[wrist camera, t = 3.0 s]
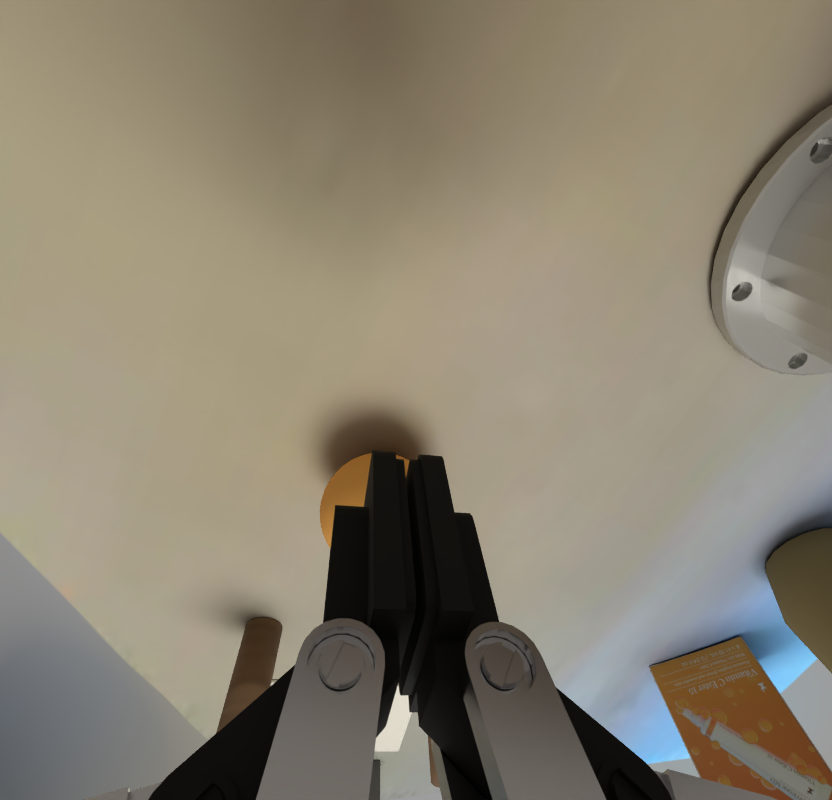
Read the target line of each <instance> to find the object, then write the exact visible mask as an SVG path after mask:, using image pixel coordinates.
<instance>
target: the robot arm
mask: <svg viewBox="0 0 832 800" xmlns="http://www.w3.org/2000/svg"><path fill="white" fill-rule="evenodd" d="M711 298H712V310H713V313H714V316H715V319H716V322H717V326H718V328H719V330H720V331H721V333H722V334H723V336H724V337H725V339H726V341H727V342H728V344H730V345H731V346H732V347H733V348H734V349H736V350H737V351H738V352H739V353H740V354H741V355H743V356H744V357H746V358H748V359H749V360H751V361H752V362H754V363H756V364H757V365H759V366H761V367H762V368H766V369H769V370H772V371H775V372H778V373H782V374H793V375H813V374H824V373H830V372H832V104H831V105H830V106H828V107H827V108H825V109H824V110H822V111H821V112H819V113H818V114H817V115H816V116H815V117H813V118H812V119H811V120H810V121H809V122H808V123H807V124H805V125H804V126H803V127H802V128H801V129H800V130H799V131H797V132H796V133H795V134H794V135H793V136H792V137H791V138H789V139H788V140H787V141H786V142H785V143H784V145H783V146H782V147H781V148H780V149H779V150H778V151H777V152H776V154H775V155H774V156H773V157H772V158H771V159H770V160H769V161H768V162H767V164H766V165H765V166H764V167H763V168H762V169H761V170H760V172H759V173H758V175H757V176H756V178H755V179H754V180H753V182H752V183H751V185H750V186H749V188H748V189H747V191H746V192H745V194H744V195H743V196H742V198H741V199H740V201H739V203H738V205H737V207H736V209H735V211H734V213H733V214H732V216H731V218H730V220H729V222H728V224H727V226H726V228H725V230H724V233H723V236H722V239H721V242H720V245H719V248H718V251H717V254H716V257H715V260H714V267H713V274H712V280H711ZM398 682H399V692H400V695H408V699H409V712H418V718H419V726H420V727H421V728H422V729H423V730H424V732H425V733H426V734H427V735H428V736H429V737H430V738H431V747H432V753H433V758H434V763H435V767H436V772H437V776H438V781H439V786H440V790H441V795H442V799H443V800H777V799H774V798H772V797H770V796H766V795H762V794H759V793H755V792H751V791H747V790H744V789H740V788H736V787H732V786H729V785H725V784H721V783H717V782H714V781H710V780H706V779H702V778H698V777H694V776H691V775H687V774H684V773H680V772H676V771H672V770H669V769H667V770H666V771H665V772H664V773H660V772H657V771H653V770H652V769H651V768H650V767H649V766H648V765H647V764H646V763H645V762H644V761H643V760H642V759H641V758H639V757H638V756H637V755H636V754H635V753H634V752H632V751H631V750H630V749H629V748H628V747H626V746H625V745H624V744H623V743H622V742H620V741H619V740H618V739H617V738H616V737H614V736H613V735H612V734H611V733H610V732H608V731H607V730H606V729H605V728H604V727H603V726H601V725H600V724H599V723H598V722H597V721H595V720H594V719H593V718H592V717H591V716H589V715H588V714H587V713H586V712H585V711H583V710H582V709H581V708H580V707H579V706H577V705H576V704H575V703H574V702H573V701H572V700H570V699H569V698H568V697H567V696H566V695H564V694H563V693H562V692H561V691H560V690H558V689H557V688H556V687H555V685H554V683H553V680H552V678H551V676H550V674H549V672H548V669H547V667H546V665H545V663H544V660H543V658H542V656H541V654H540V652H539V651H538V649H537V647H536V646H535V644H534V643H533V642H532V641H531V640H530V638H529V637H528V636H527V635H526V634H525V633H523V632H522V631H520V630H519V629H517V628H515V627H514V626H512V625H509V624H506V623H503V622H499V619H498V615H497V611H496V607H495V603H494V599H493V595H492V591H491V587H490V583H489V579H488V575H487V571H486V567H485V563H484V559H483V555H482V551H481V547H480V543H479V539H478V535H477V531H476V527H475V523H474V520H473V517H472V516H471V514H470V513H455V512H454V508H453V504H452V499H451V494H450V489H449V484H448V479H447V475H446V470H445V465H444V460H443V457H442V456H431V455H419V456H418V459H417V460H410V461H409V465H408V470H407V475H405V464H404V459H396V453H395V452H383V451H372V455H371V462H370V468H369V475H368V481H367V488H366V495H365V501H364V507H359V506H344V505H335V511H334V520H333V530H332V540H331V550H330V560H329V570H328V580H327V590H326V600H325V610H324V620H323V624H321V625H319V626H318V627H316V628H315V629H314V630H313V631H312V632H311V633H310V634H309V635H308V636H307V637H306V639H305V640H304V642H303V645H302V647H301V649H300V651H299V654H298V658H297V661H296V664H295V665H294V666H293V667H292V668H291V669H290V670H289V671H288V672H286V673H285V674H284V675H283V676H282V677H281V678H280V679H278V680H277V681H276V682H275V683H274V684H273V685H272V686H270V687H269V688H268V689H267V690H266V691H265V692H263V693H262V694H261V695H260V696H259V697H258V698H257V699H255V700H254V701H253V702H252V703H251V704H250V705H249V706H247V707H246V708H245V709H244V710H243V711H242V712H241V713H239V714H238V715H237V716H236V717H235V718H234V719H233V720H231V721H230V722H229V723H228V724H227V725H226V726H225V727H223V728H222V729H221V730H220V731H219V732H218V733H216V734H215V735H214V736H213V737H212V738H211V739H210V740H208V741H207V742H206V743H205V744H204V745H203V746H202V747H200V748H199V749H198V750H197V751H196V752H195V753H194V754H192V755H191V756H190V757H189V758H188V759H187V760H186V761H185V762H183V763H182V764H181V765H180V766H179V767H178V768H176V769H175V770H174V771H173V772H172V773H171V774H170V775H168V776H167V777H166V779H165V780H164V781H163V782H161V783H157V784H154V785H151V786H147V787H144V788H140V789H137V790H134V791H130V789H129V787H126V788H123V789H119V790H116V791H112V792H109V793H105V794H102V795H99V796H95V797H92V798H88V799H85V800H368V799H369V791H370V783H371V775H372V766H373V758H374V750H375V742H376V738H377V736H378V735H379V734H380V733H381V732H382V730H383V729H384V728H385V727H386V724H387V721H388V717H389V714H390V710H391V707H392V703H393V700H394V696H395V693H396V689H397V686H398Z"/></svg>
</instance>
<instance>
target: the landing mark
mask: <svg viewBox="0 0 832 800" xmlns="http://www.w3.org/2000/svg"><path fill="white" fill-rule="evenodd" d="M276 681H277V680H272V682H271V686H272V685H273V684H274V683H275V682H276ZM411 713H412V712H409V699H408V695H400V692H399V683H398V686H397V689H396V693H395V696H394V700H393V703H392V707H391V710H390V714H389V717H388V721H387V724H386V727H385V728H384V729H383V730H382V732H381V733H380V734H379V735H378V736H377V738H376V742H375V750H374V751H399V748H400V745H401V742H402V739H403V737H404V734H405V731H406V728H407V725H408V722H409V719H410V716H411Z"/></svg>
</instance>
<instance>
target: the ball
mask: <svg viewBox="0 0 832 800" xmlns="http://www.w3.org/2000/svg"><path fill="white" fill-rule="evenodd" d="M371 455H372V453H369V454H365V455H362V456H359V457H357V458H354V459H353V460H351V461H349V462H347V463H346V464H345V465H343V466H342V467H341V468H340V469H339V470H338V471H337V472H336V473H335V474H334V475H333V477H332V478H331V479H330V481H329V483H328V485H327V487H326V489H325V491H324V494H323V497H322V501H321V506H320V522H321V528H322V531H323V535H324V537H325V540H326V542H327V544H328V545H329V547H330V549H331V540H332V530H333V520H334V511H335V505H344V506H359V507H364V501H365V495H366V488H367V481H368V475H369V468H370V462H371ZM396 459H404V464H405V475H407V470H408V465H409V460H407V459H405V458H404V457H401V456H399V455H396Z"/></svg>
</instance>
